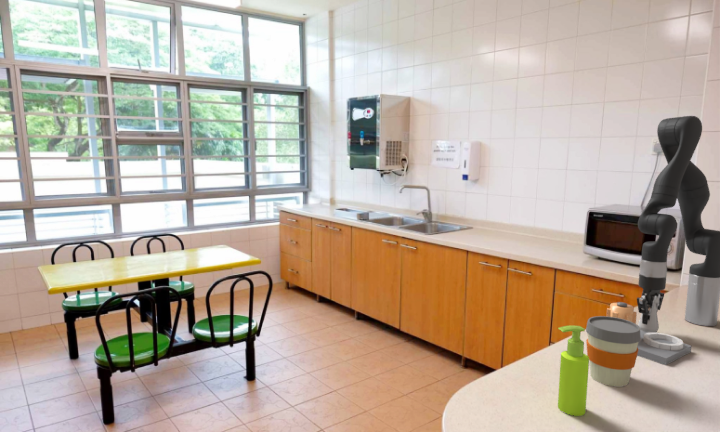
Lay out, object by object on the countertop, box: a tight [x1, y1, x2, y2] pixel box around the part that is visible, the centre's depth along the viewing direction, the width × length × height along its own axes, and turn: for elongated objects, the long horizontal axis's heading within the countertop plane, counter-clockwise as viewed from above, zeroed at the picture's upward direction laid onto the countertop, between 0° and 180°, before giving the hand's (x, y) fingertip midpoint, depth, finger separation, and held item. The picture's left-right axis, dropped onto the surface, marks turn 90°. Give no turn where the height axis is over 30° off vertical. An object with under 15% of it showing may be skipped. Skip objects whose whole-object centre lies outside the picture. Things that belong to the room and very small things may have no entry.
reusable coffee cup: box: [585, 315, 641, 388], centre depth 120 cm, size 13×13×15 cm
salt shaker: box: [637, 297, 660, 333], centre depth 151 cm, size 6×6×13 cm
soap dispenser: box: [557, 325, 590, 417], centre depth 105 cm, size 6×7×20 cm
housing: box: [606, 301, 692, 366], centre depth 141 cm, size 16×21×13 cm
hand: (648, 323), depth 151 cm, fingers closed on salt shaker, 3 cm apart
